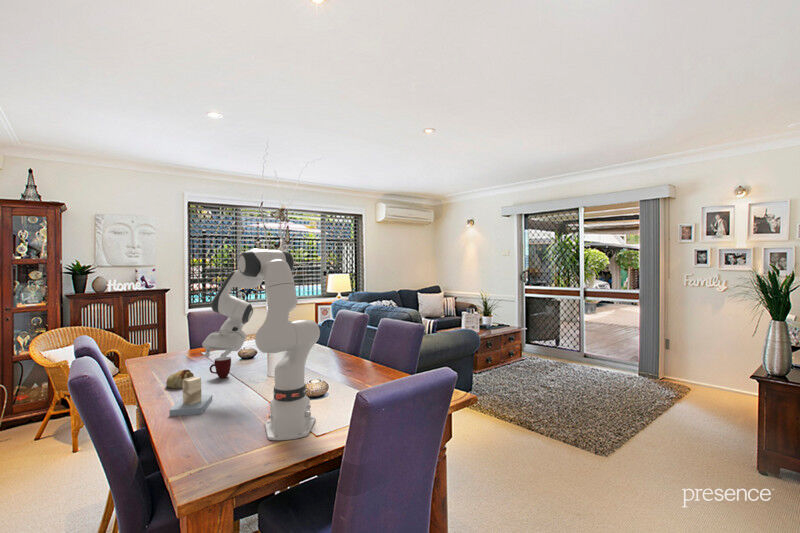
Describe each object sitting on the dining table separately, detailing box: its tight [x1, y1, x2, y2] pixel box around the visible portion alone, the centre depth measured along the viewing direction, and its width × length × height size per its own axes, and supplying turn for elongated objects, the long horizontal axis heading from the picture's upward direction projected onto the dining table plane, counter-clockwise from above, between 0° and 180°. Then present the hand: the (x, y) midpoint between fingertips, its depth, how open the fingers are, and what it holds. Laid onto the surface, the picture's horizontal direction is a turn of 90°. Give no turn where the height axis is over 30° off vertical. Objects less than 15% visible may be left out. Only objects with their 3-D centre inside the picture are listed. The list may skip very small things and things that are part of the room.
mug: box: [209, 356, 232, 379], centre depth 214 cm, size 10×8×10 cm
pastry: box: [165, 369, 195, 390], centre depth 202 cm, size 14×12×8 cm
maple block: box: [182, 376, 202, 405], centre depth 171 cm, size 5×5×10 cm
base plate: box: [169, 394, 213, 417], centre depth 171 cm, size 16×12×3 cm
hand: (214, 357), depth 182 cm, fingers open, 8 cm apart
